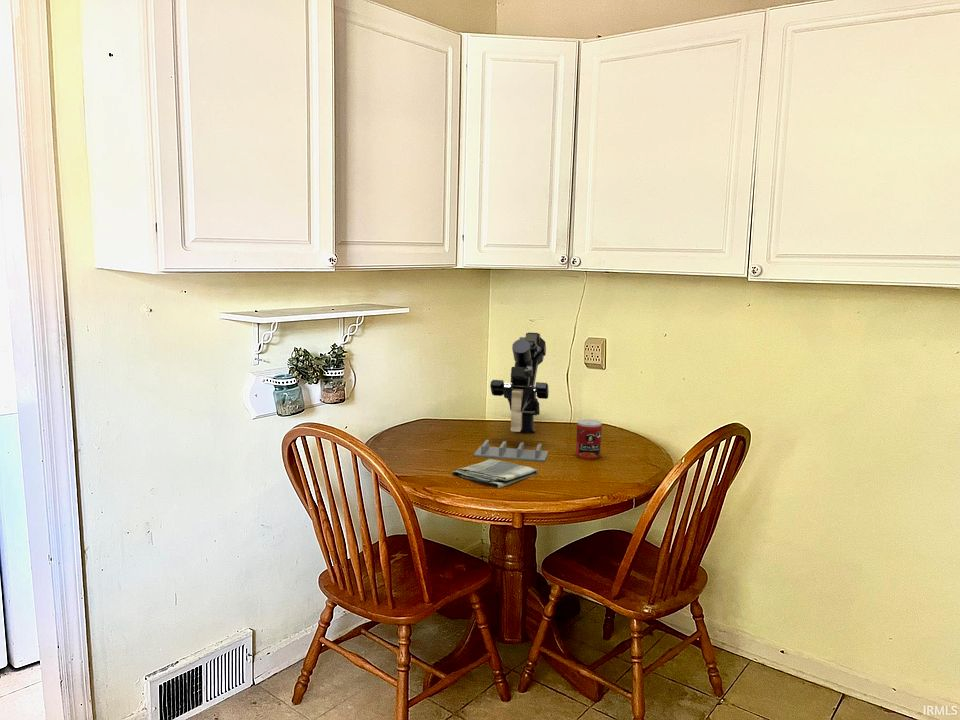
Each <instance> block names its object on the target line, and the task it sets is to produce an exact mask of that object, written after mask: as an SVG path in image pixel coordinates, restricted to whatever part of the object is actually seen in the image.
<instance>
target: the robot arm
mask: <svg viewBox="0 0 960 720" xmlns="http://www.w3.org/2000/svg"><path fill="white" fill-rule="evenodd" d="M546 344H547V343H546V341H545V340H544V339H543V338H542V337H541V334H540V333H538V332H526V333H525V337H523V336H519V339H516V340H515V341H514V342H513V343H512V345H511V347H512V348H511V349H512V355H513V360H514V361H515V362H514V366H511V369H510V382H509V383H507V382H504V380H503V379H492V380H491V381H490V385H489V386H490V391H491V395H492V396H496V397H497V396H498V397H502V396H503V398H504V399H507V401H508V404H509V408H510V411H511V403H512V391H513V390H514V389H523V401H522V405H521V412H522V429H521V431H520V432H519V433H521V434H522V433H529V434H530V433H533V434H534V433H535V434H536V430H535V428H534V417H536V416H539V415H540V410H541V409H540V402H539V400H538V399H542V400H547V399H548V398H549V383H547V382H537V381H536V378H537V374H538V373H537V372H538V367H539V365H541V363H543V361H544V358H545V357H546V355H547V354H546V353H547V345H546Z"/></svg>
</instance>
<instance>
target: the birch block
mask: <svg viewBox="0 0 960 720" xmlns="http://www.w3.org/2000/svg"><path fill="white" fill-rule="evenodd" d="M522 401H523V389H514V390H513V391H512V403H511V410H510V412H511V413H510V432H515V433H521V432H520V431H521V429H522V412H521V405H522Z"/></svg>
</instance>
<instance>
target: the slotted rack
mask: <svg viewBox="0 0 960 720" xmlns="http://www.w3.org/2000/svg"><path fill="white" fill-rule="evenodd" d="M507 444H508V443H507V440H503V441H502V443H501V444H500V446H499V447H496V446H490V439H486V440H484V442H483V443H482V444H481V445H479V446H478V448H477V450H475V452H474V453H473V457H479V458H488V459H502V460H515V461H516V460H517V461H529V462H539V463H545V462H546V460H547V457H548V454H549V451H547V450H542V446H543V445H542V443H538V444H537V446H536V449H525V442H520V443H519V445H518V447H517V448H514V447H513V448H511V447H510V448H509V447H507Z"/></svg>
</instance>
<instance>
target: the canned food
mask: <svg viewBox="0 0 960 720" xmlns="http://www.w3.org/2000/svg"><path fill="white" fill-rule="evenodd" d="M602 429H603V423H602V422H601V420H598V419H592V418H591V419H590V418H587V419H586V418H584V419H578V420H577V423H576V441H575V454H576V457H578V458H579V459H582V460H597V459H599V458H600V457H601V450H602V449H601V447H602Z"/></svg>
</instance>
